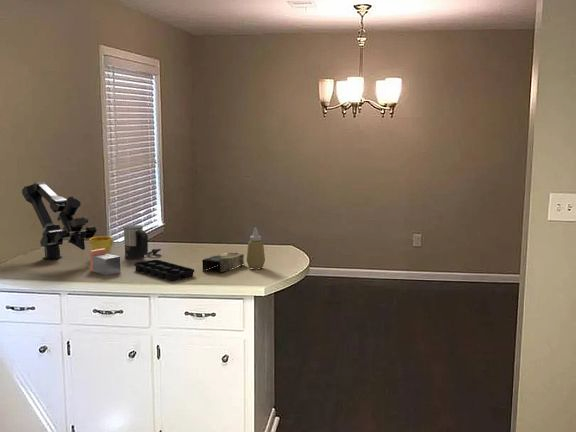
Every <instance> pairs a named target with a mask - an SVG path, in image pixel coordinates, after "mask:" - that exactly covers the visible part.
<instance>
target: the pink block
mask: <svg viewBox="0 0 576 432" xmlns="http://www.w3.org/2000/svg"><path fill="white" fill-rule="evenodd" d="M101 254H106V249H104V248H103V249H97V250H92V249H91V250H89V267H90V268H89V269H90V272H93V259H92V256H95V255H101Z"/></svg>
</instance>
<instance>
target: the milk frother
mask: <svg viewBox="0 0 576 432" xmlns="http://www.w3.org/2000/svg"><path fill="white" fill-rule="evenodd" d="M143 228H144V226H143V225H139V224H138V225H136V224H132V225H126V226H125V225H124V226H123V237H124V238H123V239H124V259H128V260H137V259H139V260H140V259H143V258H145V256H148V255H150V254H152V255H157V253H159V252H161V248H152V249H151V250H150V251H149V236H148V234H147V231H145V230H144V229H143Z"/></svg>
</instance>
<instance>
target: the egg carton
mask: <svg viewBox="0 0 576 432" xmlns="http://www.w3.org/2000/svg"><path fill="white" fill-rule="evenodd" d="M133 265H134V266H135V267H134V268H135V272H138V273H143V274H144V275H149V276H151V277H156V278H158V279H161V280H166V281H167V282H177V281H180V280H181V279H183V280H185V279H186V278H187V279H190V277H191V278H193V277H194V273H195V269H193V268H190V267H188V266H187V267H186V266H183V265H179V264H175V263H172V262H167V261H165V260H161V259H151V260H144V261H139V262H134V264H133Z"/></svg>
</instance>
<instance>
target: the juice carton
mask: <svg viewBox="0 0 576 432" xmlns="http://www.w3.org/2000/svg"><path fill="white" fill-rule="evenodd" d="M244 257H245V255H244V254H243V253H238V252H224V253H220V254H216V255H211V256H210V257H207V258H204V259H202V260H201V261H202V272H203V271H204V270H206V269H209V268H212V267H214V266H217V265H218V267H217V269H216V270H215V271H216V273H218V274H221V273H222V272H223V273H224V272H225V271H227V270H229V271H231V270H230V269H232V268H235V267H237V266H239V265H242V264H244V265H245V260H244V259H245V258H244ZM212 269H213V268H212ZM235 269H236V268H235ZM209 270H210V269H209ZM206 271H207V270H206ZM204 272H205V271H204ZM227 272H228V271H227Z"/></svg>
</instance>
